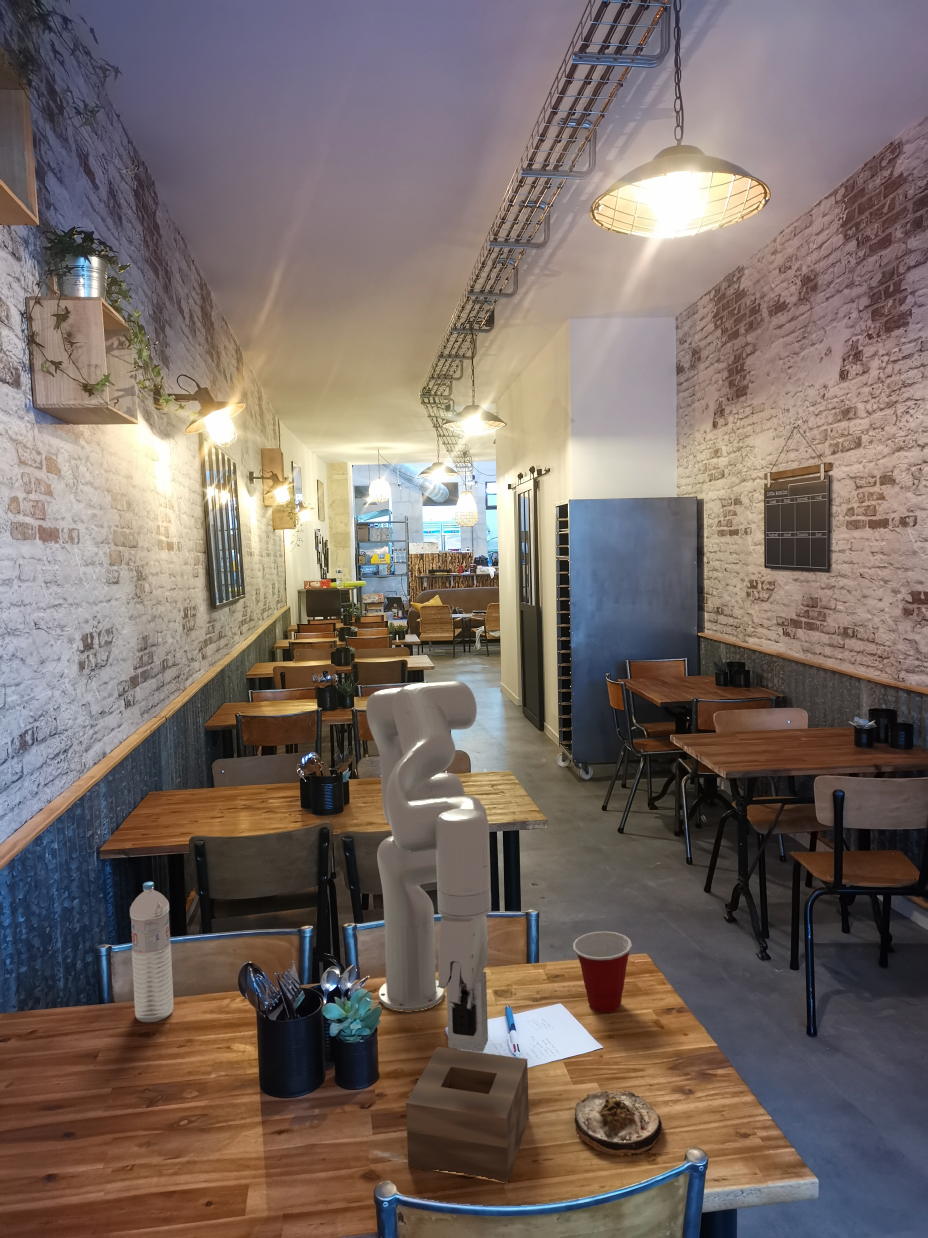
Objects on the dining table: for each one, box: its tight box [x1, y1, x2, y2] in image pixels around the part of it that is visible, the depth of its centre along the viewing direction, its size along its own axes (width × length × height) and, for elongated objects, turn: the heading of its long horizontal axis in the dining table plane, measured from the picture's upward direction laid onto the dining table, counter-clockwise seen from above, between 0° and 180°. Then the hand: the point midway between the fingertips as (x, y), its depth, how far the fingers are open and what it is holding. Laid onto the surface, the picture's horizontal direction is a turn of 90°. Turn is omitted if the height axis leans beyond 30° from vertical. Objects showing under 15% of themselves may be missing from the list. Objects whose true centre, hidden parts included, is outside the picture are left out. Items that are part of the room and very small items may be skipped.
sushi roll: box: [574, 1089, 663, 1157], centre depth 122 cm, size 15×15×4 cm
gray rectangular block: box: [446, 971, 489, 1053], centre depth 119 cm, size 3×5×10 cm, turn 74°
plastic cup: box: [572, 931, 632, 1014], centre depth 156 cm, size 11×11×12 cm
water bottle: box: [129, 881, 174, 1023], centre depth 157 cm, size 7×7×25 cm
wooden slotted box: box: [405, 1046, 530, 1183], centre depth 120 cm, size 14×14×9 cm
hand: (467, 1026), depth 119 cm, fingers closed on gray rectangular block, 3 cm apart
